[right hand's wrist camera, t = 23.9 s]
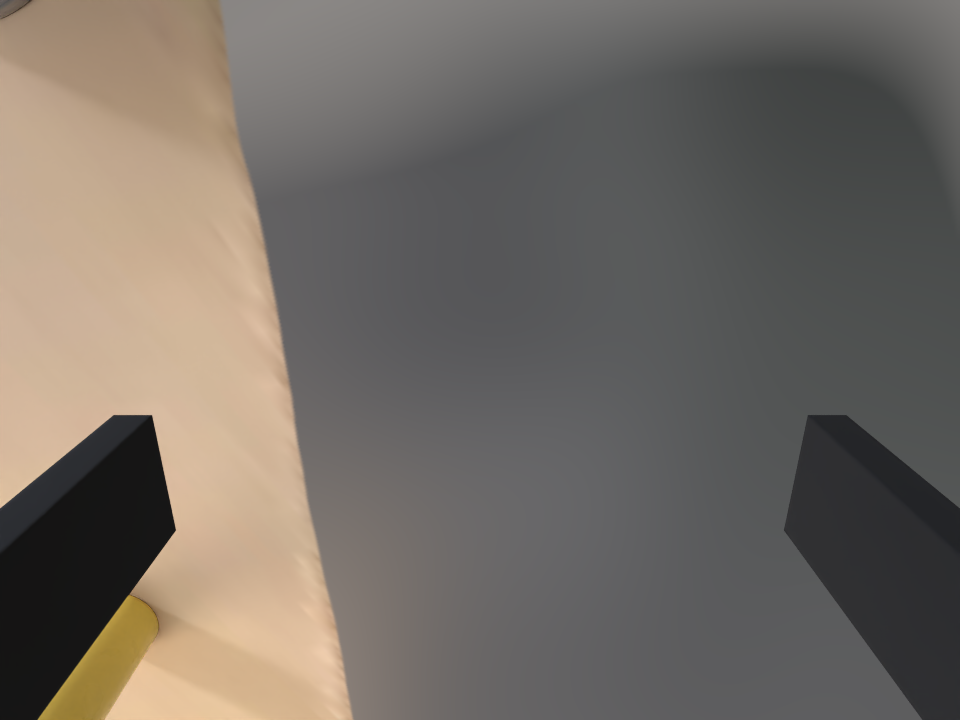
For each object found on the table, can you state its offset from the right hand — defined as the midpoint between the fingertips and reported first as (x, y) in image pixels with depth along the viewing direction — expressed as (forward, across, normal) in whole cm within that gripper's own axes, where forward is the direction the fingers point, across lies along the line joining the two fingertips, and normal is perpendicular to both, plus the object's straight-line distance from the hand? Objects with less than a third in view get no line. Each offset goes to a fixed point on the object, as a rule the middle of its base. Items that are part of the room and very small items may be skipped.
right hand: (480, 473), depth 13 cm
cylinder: (+31, -31, -34) cm, 55 cm away
